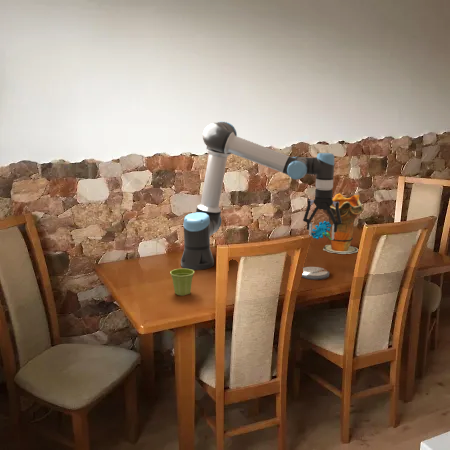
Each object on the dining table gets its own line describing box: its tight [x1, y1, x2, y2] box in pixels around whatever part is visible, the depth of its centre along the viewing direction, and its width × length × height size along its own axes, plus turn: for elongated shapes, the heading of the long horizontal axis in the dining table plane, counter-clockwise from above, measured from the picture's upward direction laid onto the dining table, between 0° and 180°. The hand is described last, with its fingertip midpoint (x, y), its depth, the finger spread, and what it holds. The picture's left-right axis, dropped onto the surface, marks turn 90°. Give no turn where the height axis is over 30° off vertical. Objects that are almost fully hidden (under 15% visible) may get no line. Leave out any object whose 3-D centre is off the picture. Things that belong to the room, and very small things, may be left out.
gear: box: [311, 220, 332, 241], centre depth 232 cm, size 11×6×10 cm
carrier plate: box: [301, 266, 330, 281], centre depth 223 cm, size 13×13×2 cm
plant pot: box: [169, 267, 195, 296], centre depth 202 cm, size 9×9×9 cm
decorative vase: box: [322, 193, 365, 255], centre depth 258 cm, size 21×23×28 cm
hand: (321, 238), depth 232 cm, fingers closed on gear, 9 cm apart
